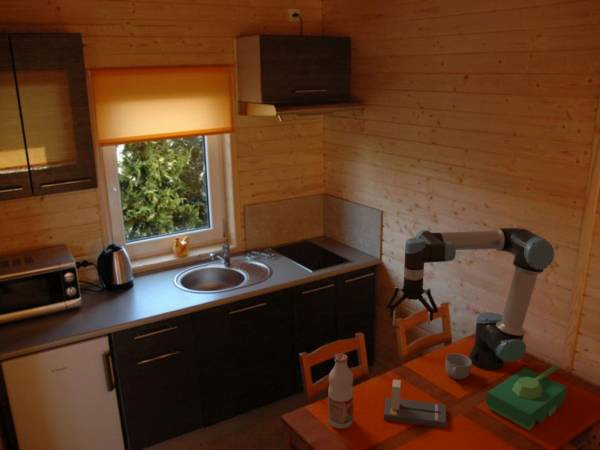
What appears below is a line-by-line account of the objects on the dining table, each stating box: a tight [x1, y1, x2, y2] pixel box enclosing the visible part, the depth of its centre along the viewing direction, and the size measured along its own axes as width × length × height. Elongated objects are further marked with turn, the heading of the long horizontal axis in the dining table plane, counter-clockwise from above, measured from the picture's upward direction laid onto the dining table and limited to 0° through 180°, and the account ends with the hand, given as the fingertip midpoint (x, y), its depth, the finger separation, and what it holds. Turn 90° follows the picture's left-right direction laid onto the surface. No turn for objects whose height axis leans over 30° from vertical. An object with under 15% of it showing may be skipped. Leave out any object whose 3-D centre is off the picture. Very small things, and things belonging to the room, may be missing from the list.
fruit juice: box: [327, 353, 354, 430], centre depth 201 cm, size 9×9×28 cm
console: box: [383, 396, 447, 429], centre depth 208 cm, size 23×11×3 cm, turn 77°
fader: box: [391, 379, 402, 410], centre depth 208 cm, size 3×5×10 cm, turn 167°
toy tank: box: [485, 363, 568, 431], centre depth 212 cm, size 18×12×35 cm
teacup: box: [444, 352, 473, 380], centre depth 231 cm, size 14×11×8 cm
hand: (410, 325), depth 217 cm, fingers open, 13 cm apart
